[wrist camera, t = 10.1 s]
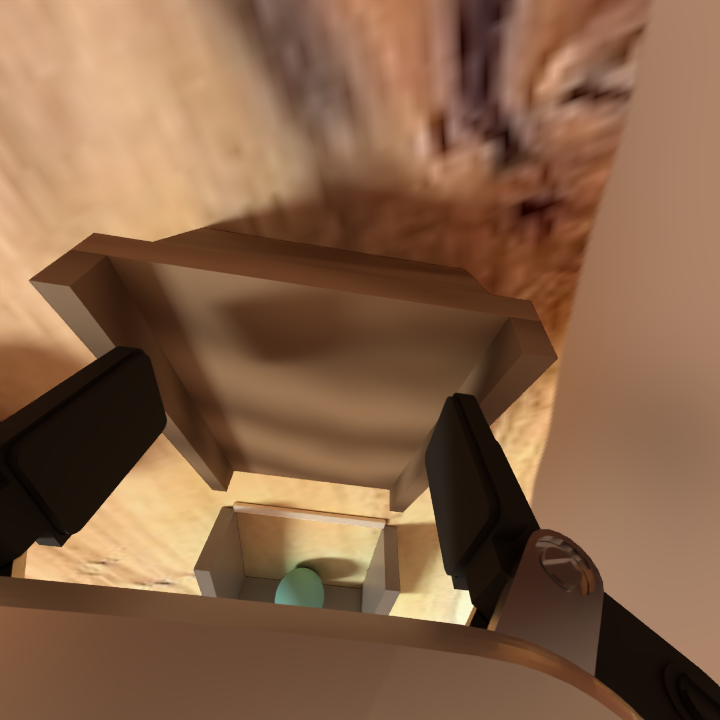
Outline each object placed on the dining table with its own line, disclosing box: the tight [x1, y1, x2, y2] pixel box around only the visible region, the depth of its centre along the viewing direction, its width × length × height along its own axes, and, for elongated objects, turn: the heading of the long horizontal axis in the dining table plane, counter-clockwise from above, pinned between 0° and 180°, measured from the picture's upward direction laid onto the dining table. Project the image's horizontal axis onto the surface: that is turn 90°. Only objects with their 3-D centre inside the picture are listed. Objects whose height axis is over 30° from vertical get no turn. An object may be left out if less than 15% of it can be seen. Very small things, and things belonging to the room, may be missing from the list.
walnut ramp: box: [29, 228, 558, 512], centre depth 15 cm, size 18×14×8 cm
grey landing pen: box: [194, 502, 400, 615], centre depth 28 cm, size 16×16×5 cm
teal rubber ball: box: [275, 568, 324, 608], centre depth 30 cm, size 5×5×5 cm
